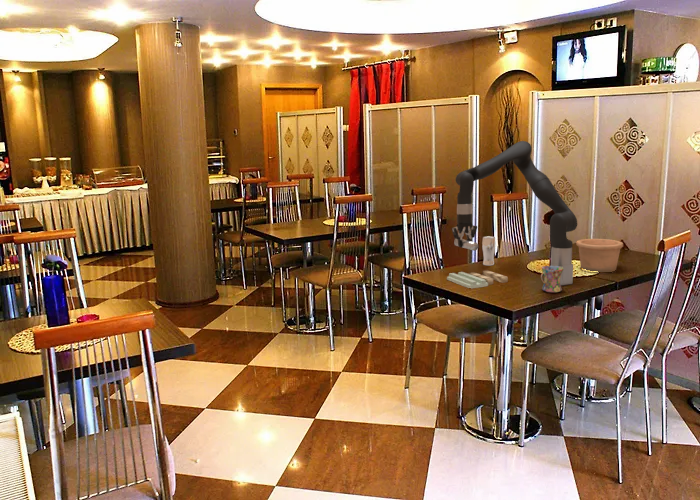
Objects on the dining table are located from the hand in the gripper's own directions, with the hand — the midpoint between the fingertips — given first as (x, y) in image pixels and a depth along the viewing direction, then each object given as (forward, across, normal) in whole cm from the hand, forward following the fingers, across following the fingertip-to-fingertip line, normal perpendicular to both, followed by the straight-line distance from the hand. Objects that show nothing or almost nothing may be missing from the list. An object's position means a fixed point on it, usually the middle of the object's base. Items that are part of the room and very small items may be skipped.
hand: (464, 246), depth 294 cm
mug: (+16, -16, +44) cm, 49 cm away
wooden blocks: (+15, -5, +13) cm, 21 cm away
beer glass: (+15, -25, -16) cm, 34 cm away
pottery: (+16, -66, +21) cm, 71 cm away
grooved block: (+15, +7, +13) cm, 21 cm away
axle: (-1, 0, +1) cm, 2 cm away
